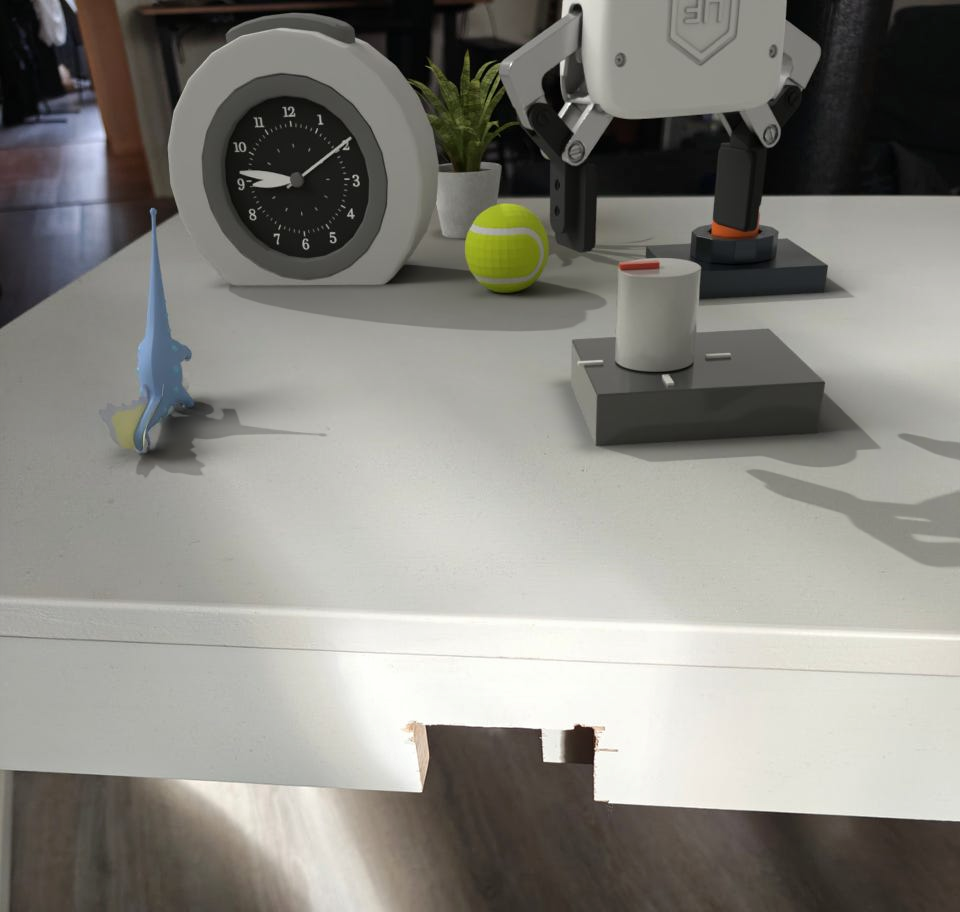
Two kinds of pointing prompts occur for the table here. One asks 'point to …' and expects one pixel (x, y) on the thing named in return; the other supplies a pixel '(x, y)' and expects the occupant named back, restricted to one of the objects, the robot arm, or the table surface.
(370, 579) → the table surface
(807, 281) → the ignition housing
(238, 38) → the alarm clock
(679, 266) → the hob knob
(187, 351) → the dinosaur figurine
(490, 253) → the tennis ball
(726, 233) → the button
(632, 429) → the dark grey knob base
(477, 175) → the house plant
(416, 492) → the table surface
